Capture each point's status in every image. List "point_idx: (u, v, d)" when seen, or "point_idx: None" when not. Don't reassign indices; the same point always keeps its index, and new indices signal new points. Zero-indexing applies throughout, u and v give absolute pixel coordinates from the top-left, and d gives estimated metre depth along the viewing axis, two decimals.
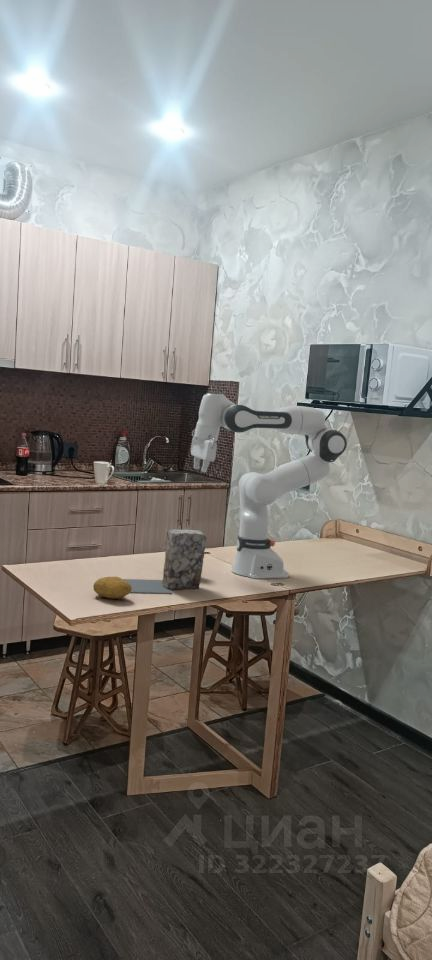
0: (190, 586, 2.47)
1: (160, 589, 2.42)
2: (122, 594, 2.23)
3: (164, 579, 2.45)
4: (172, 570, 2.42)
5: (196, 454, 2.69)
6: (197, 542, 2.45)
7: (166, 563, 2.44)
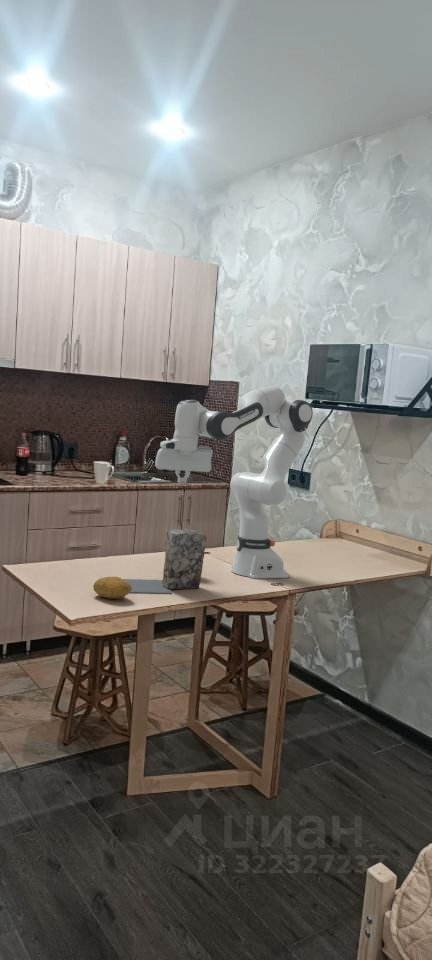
0: (190, 586, 2.47)
1: (160, 589, 2.42)
2: (122, 594, 2.23)
3: (164, 579, 2.45)
4: (172, 570, 2.42)
5: (178, 467, 2.54)
6: (197, 542, 2.45)
7: (166, 563, 2.44)
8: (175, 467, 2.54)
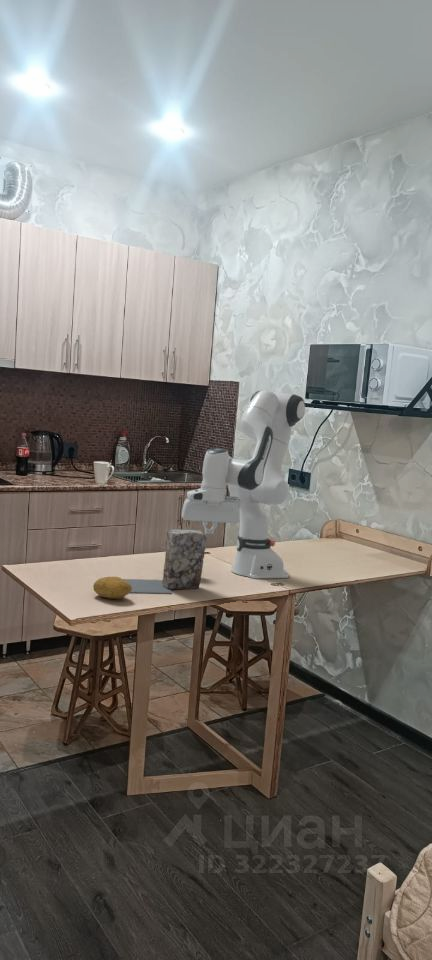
0: (190, 586, 2.47)
1: (160, 589, 2.42)
2: (122, 594, 2.23)
3: (164, 579, 2.45)
4: (172, 570, 2.42)
5: (206, 518, 2.45)
6: (197, 542, 2.45)
7: (166, 563, 2.44)
8: (202, 518, 2.44)
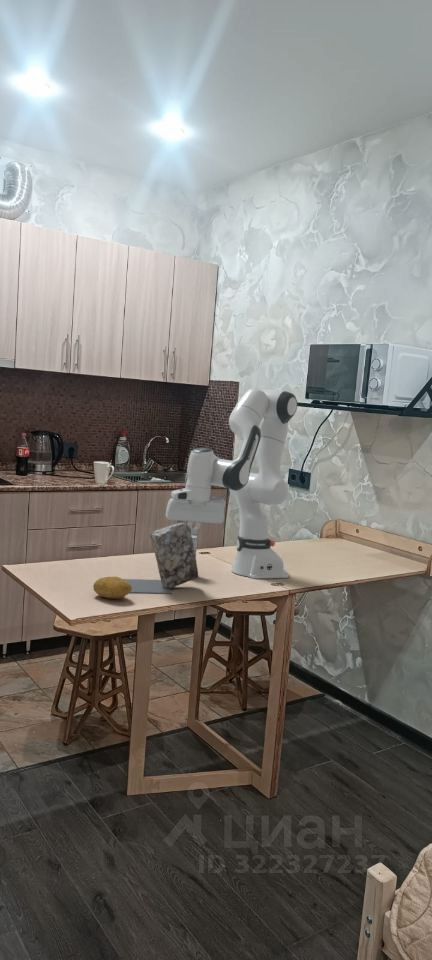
0: (189, 578, 2.47)
1: (160, 589, 2.42)
2: (122, 594, 2.23)
3: (161, 580, 2.45)
4: (165, 570, 2.41)
5: (190, 518, 2.42)
6: (182, 536, 2.42)
7: (159, 564, 2.43)
8: (186, 518, 2.42)
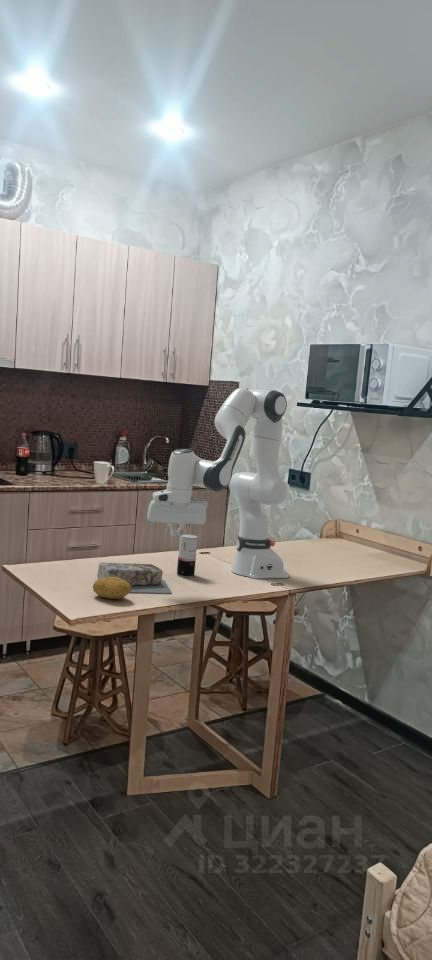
0: (152, 566, 2.54)
1: (160, 589, 2.42)
2: (122, 594, 2.23)
3: (155, 580, 2.45)
4: (143, 570, 2.44)
5: (171, 520, 2.42)
6: (109, 564, 2.47)
7: (139, 579, 2.43)
8: (168, 520, 2.42)
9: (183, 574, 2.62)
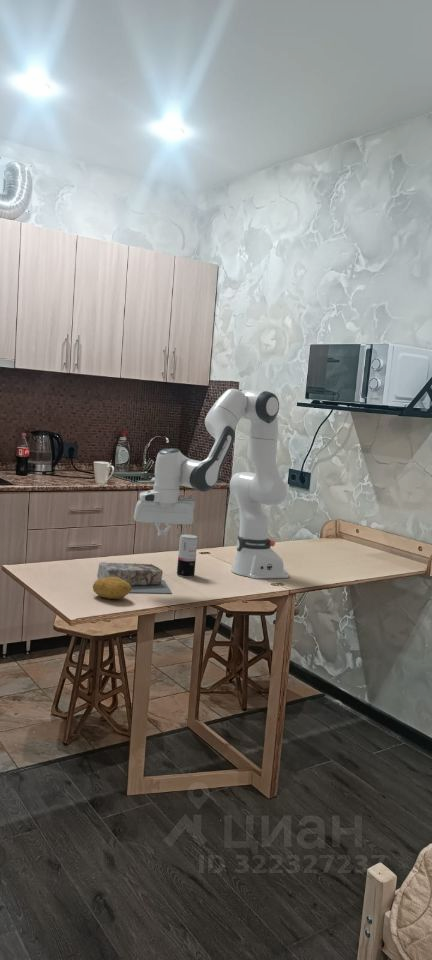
0: (152, 566, 2.54)
1: (160, 589, 2.42)
2: (122, 594, 2.23)
3: (155, 580, 2.45)
4: (143, 570, 2.44)
5: (158, 520, 2.41)
6: (109, 564, 2.47)
7: (139, 579, 2.43)
8: (155, 520, 2.41)
9: (183, 574, 2.62)
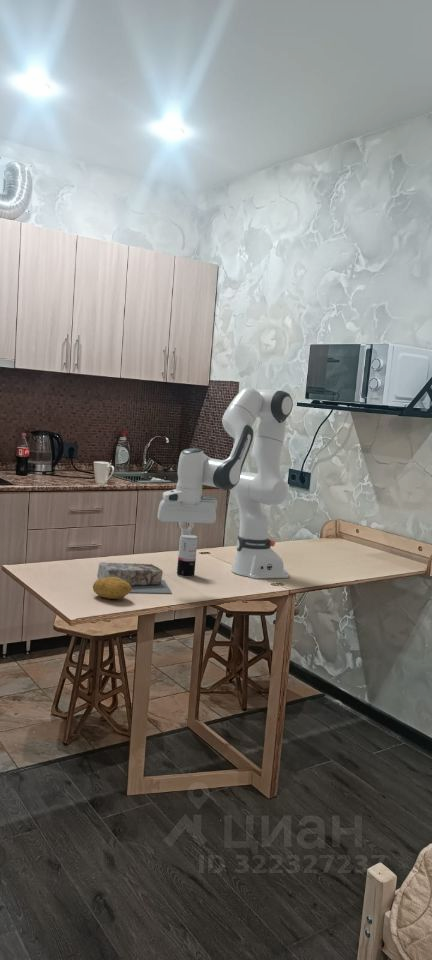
0: (152, 566, 2.54)
1: (160, 589, 2.42)
2: (122, 594, 2.23)
3: (155, 580, 2.45)
4: (143, 570, 2.44)
5: (182, 519, 2.43)
6: (109, 564, 2.47)
7: (139, 579, 2.43)
8: (178, 519, 2.43)
9: (183, 574, 2.62)
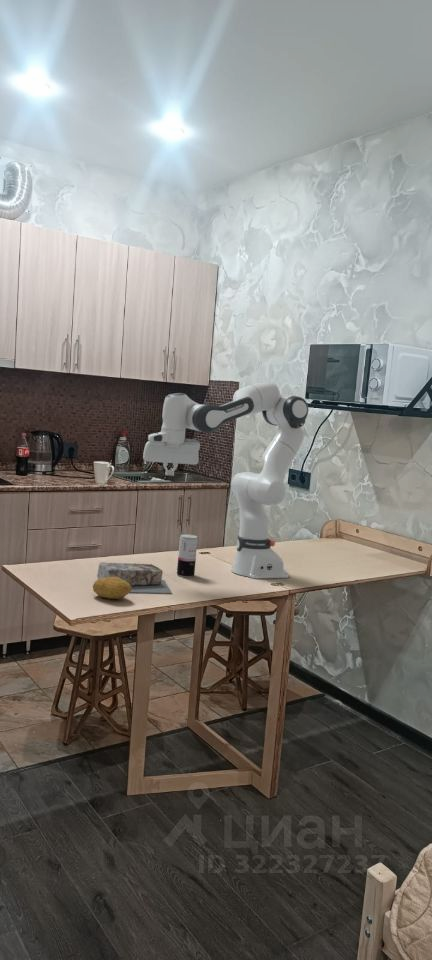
0: (152, 566, 2.54)
1: (160, 589, 2.42)
2: (122, 594, 2.23)
3: (155, 580, 2.45)
4: (143, 570, 2.44)
5: (166, 460, 2.57)
6: (109, 564, 2.47)
7: (139, 579, 2.43)
8: (163, 459, 2.57)
9: (183, 574, 2.62)
